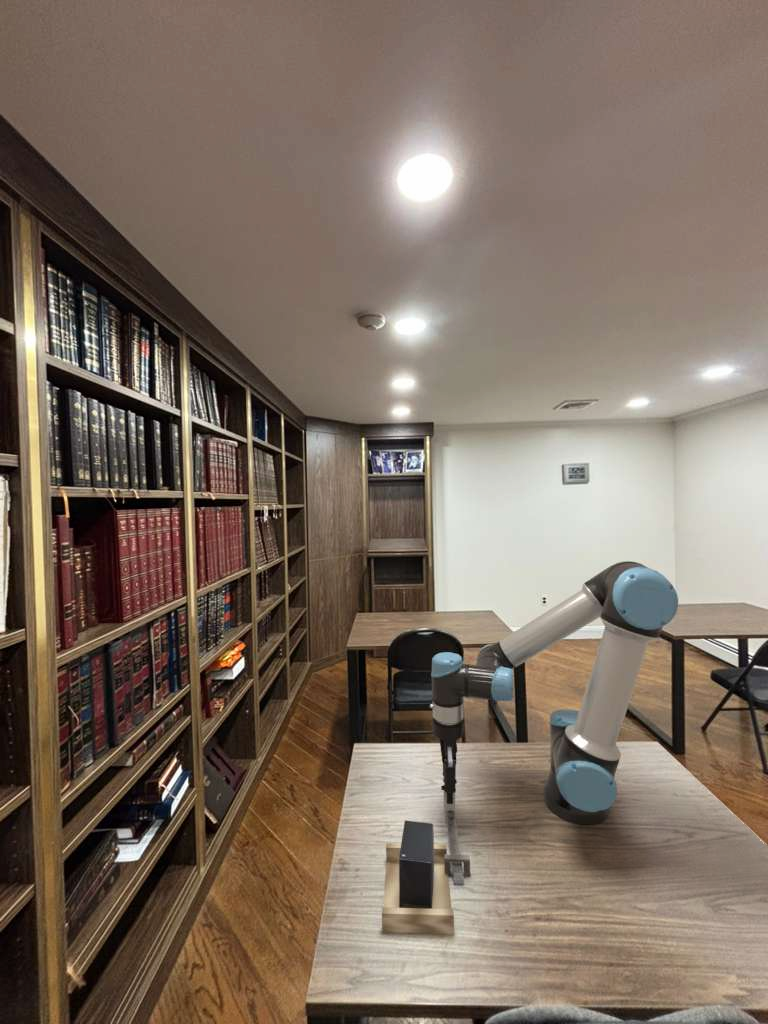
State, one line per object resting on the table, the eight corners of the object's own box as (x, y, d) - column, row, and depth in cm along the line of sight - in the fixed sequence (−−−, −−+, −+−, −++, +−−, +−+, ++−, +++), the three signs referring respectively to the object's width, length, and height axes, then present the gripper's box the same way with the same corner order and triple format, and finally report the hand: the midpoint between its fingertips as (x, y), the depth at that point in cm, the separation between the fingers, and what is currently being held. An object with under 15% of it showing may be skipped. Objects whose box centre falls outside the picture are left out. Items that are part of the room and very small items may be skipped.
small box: (433, 918, 82) (432, 862, 82) (398, 913, 83) (397, 859, 83) (435, 871, 92) (434, 821, 92) (404, 867, 93) (403, 819, 93)
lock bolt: (454, 820, 107) (454, 806, 107) (463, 884, 89) (463, 868, 89) (446, 820, 107) (445, 806, 107) (453, 884, 89) (453, 867, 89)
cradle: (467, 860, 95) (467, 844, 95) (479, 935, 79) (479, 915, 79) (386, 859, 96) (386, 842, 96) (382, 932, 80) (381, 912, 80)
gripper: (431, 705, 114) (433, 794, 115) (433, 731, 101) (435, 832, 102) (460, 705, 114) (462, 795, 114) (466, 732, 101) (468, 833, 101)
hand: (449, 812), depth 108 cm, fingers closed
